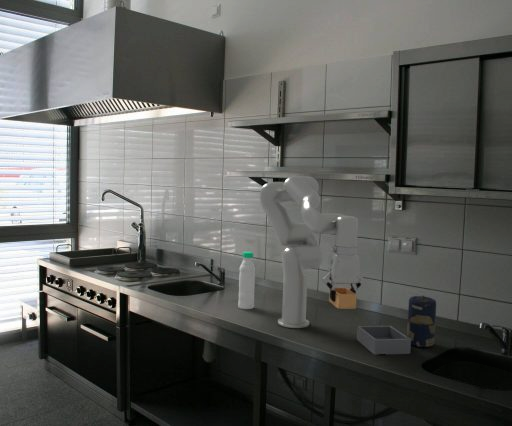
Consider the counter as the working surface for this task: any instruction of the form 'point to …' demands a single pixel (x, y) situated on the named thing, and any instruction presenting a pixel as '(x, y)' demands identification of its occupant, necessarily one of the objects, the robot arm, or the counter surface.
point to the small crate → (344, 299)
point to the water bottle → (246, 282)
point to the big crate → (383, 340)
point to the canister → (421, 321)
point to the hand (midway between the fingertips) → (342, 300)
